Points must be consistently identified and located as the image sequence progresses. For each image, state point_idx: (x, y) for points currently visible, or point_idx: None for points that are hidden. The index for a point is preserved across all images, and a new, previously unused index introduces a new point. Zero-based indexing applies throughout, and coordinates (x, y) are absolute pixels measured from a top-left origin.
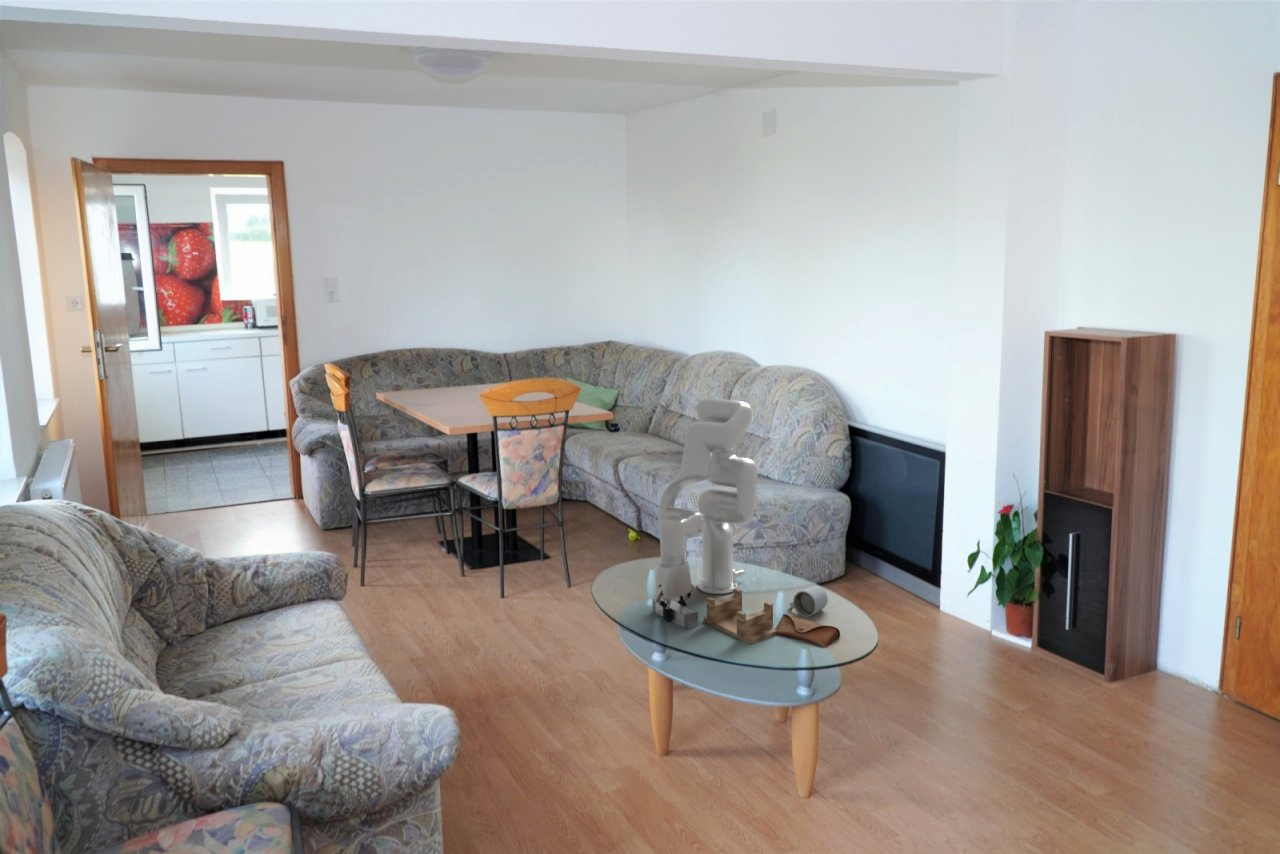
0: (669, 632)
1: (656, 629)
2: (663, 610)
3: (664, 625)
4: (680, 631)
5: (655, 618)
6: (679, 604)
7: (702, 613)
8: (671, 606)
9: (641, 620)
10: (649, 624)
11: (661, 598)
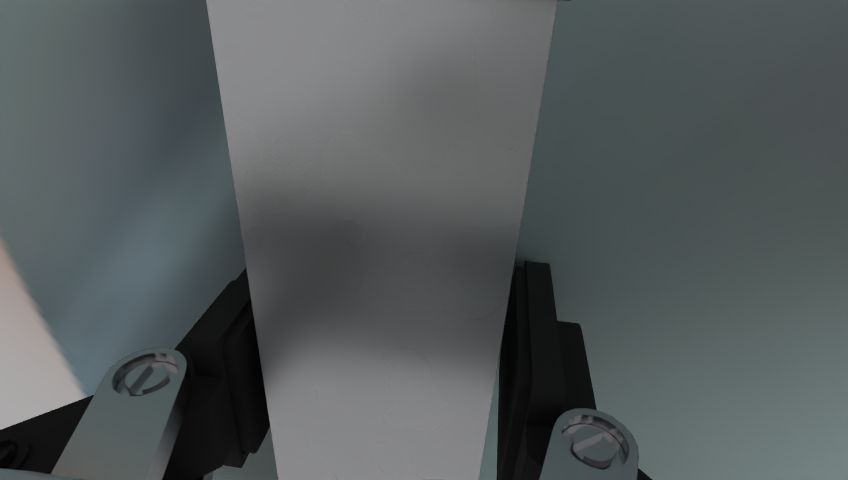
0: None
1: (107, 325)
2: (188, 346)
3: None
4: (273, 469)
5: (217, 128)
6: (464, 438)
7: (732, 409)
8: (318, 400)
9: (27, 40)
10: (83, 201)
11: (400, 8)
